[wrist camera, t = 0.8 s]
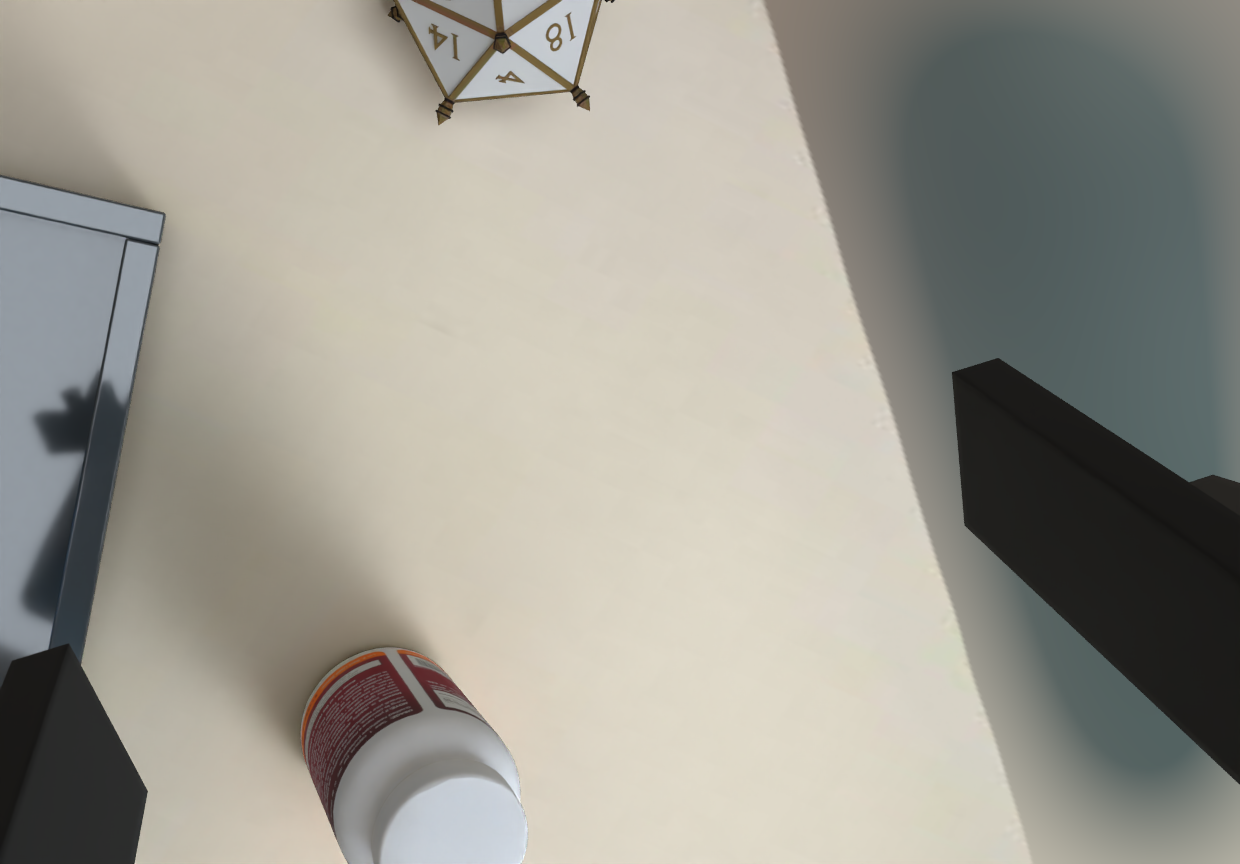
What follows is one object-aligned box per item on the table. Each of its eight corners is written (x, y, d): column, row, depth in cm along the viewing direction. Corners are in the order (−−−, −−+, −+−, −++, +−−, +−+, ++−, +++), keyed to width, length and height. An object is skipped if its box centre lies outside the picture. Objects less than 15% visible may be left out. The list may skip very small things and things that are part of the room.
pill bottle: (298, 808, 44) (349, 965, 34) (296, 651, 43) (349, 764, 33) (457, 784, 46) (549, 924, 36) (458, 635, 46) (553, 737, 36)
